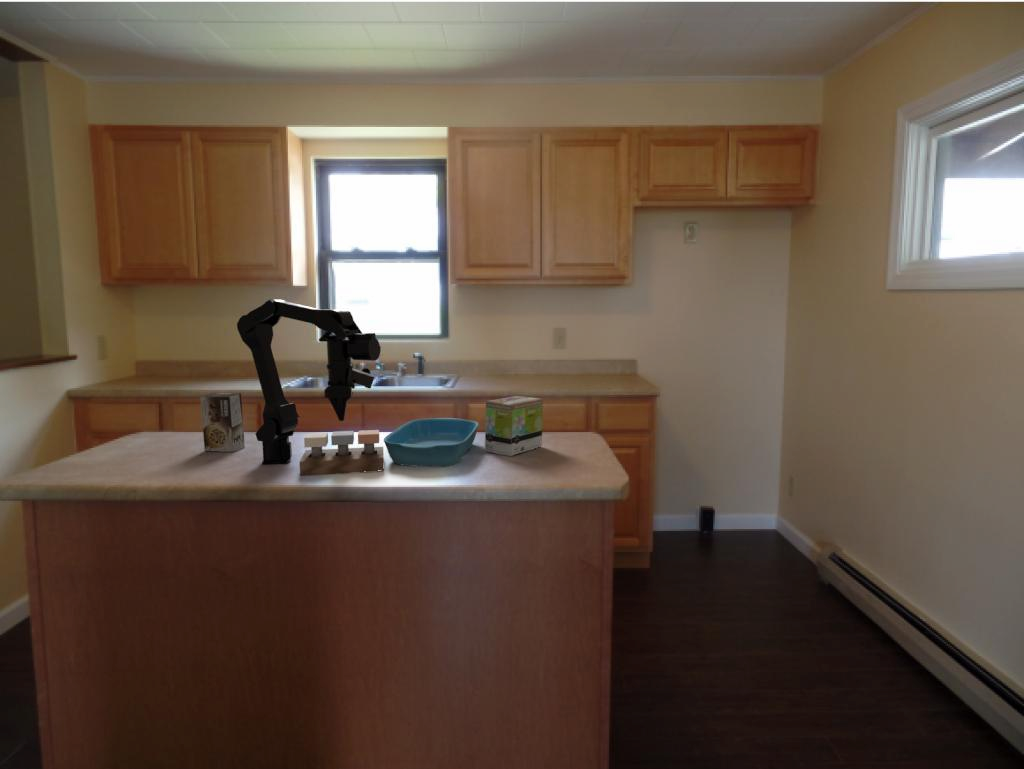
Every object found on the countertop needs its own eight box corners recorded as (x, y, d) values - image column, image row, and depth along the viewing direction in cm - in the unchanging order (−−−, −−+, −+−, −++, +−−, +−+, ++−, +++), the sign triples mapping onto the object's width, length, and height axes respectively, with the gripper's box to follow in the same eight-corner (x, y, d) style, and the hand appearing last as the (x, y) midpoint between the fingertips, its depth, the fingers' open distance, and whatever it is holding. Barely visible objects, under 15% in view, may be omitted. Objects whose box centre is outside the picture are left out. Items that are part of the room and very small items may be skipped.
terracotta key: (358, 457, 156) (357, 434, 155) (359, 452, 161) (358, 430, 160) (379, 456, 157) (378, 433, 156) (379, 451, 162) (379, 429, 161)
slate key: (332, 458, 154) (331, 435, 154) (333, 453, 159) (332, 431, 159) (353, 457, 155) (352, 435, 155) (354, 452, 161) (353, 430, 160)
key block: (300, 475, 150) (299, 461, 150) (306, 463, 162) (305, 450, 161) (383, 471, 154) (383, 457, 154) (383, 459, 166) (383, 446, 165)
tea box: (512, 457, 168) (512, 404, 166) (484, 452, 174) (483, 400, 172) (543, 447, 180) (543, 397, 178) (516, 442, 186) (516, 394, 184)
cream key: (305, 461, 153) (304, 438, 152) (307, 456, 158) (306, 433, 157) (326, 460, 154) (325, 437, 153) (328, 455, 159) (327, 432, 158)
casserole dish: (459, 473, 153) (459, 445, 152) (373, 470, 156) (372, 443, 155) (484, 440, 189) (484, 418, 188) (414, 438, 192) (413, 416, 191)
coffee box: (245, 447, 180) (242, 392, 178) (233, 452, 173) (230, 396, 171) (216, 446, 181) (212, 392, 179) (203, 451, 174) (199, 395, 172)
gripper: (371, 362, 147) (373, 426, 149) (372, 356, 165) (374, 413, 167) (322, 363, 144) (325, 428, 147) (330, 356, 163) (332, 414, 165)
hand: (341, 420), depth 156 cm, fingers closed
